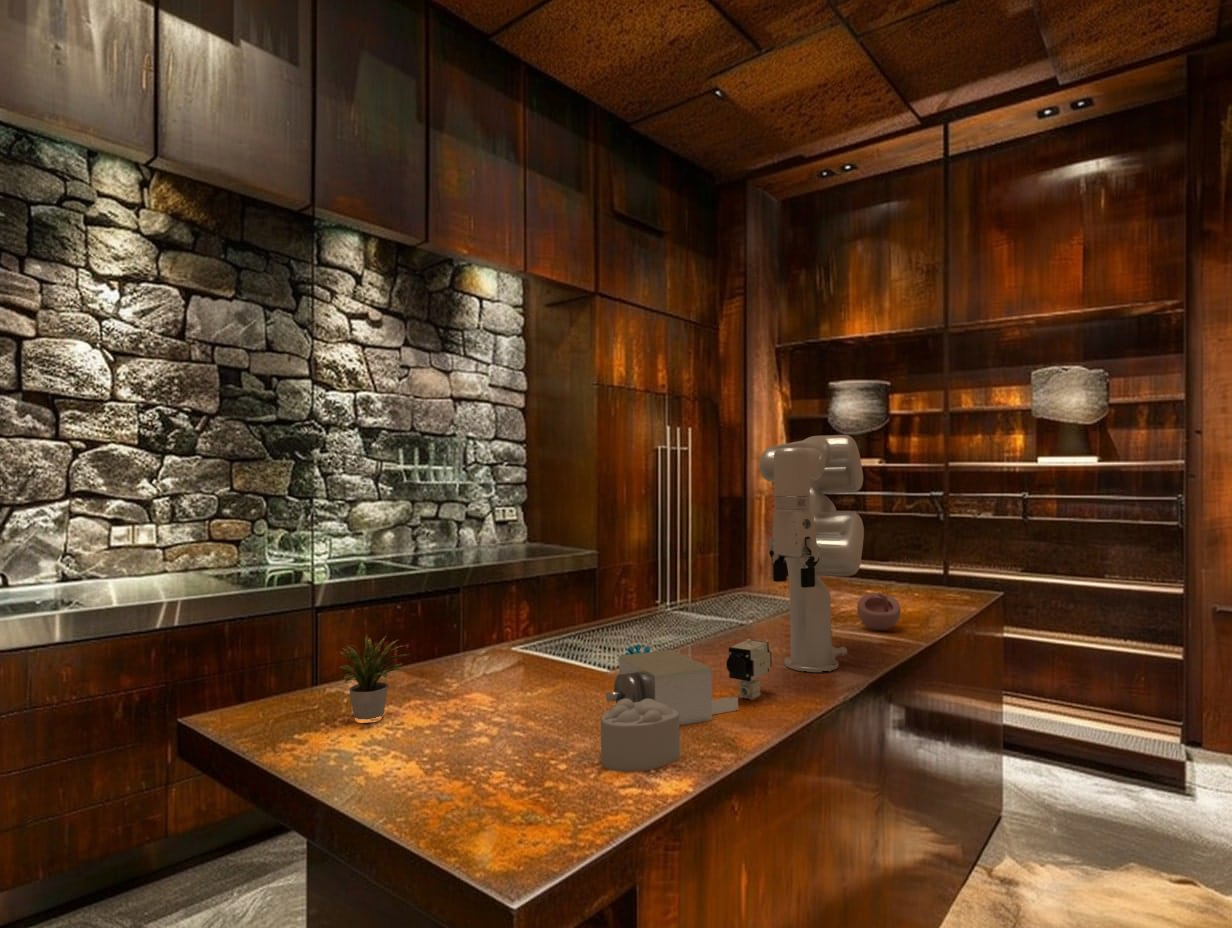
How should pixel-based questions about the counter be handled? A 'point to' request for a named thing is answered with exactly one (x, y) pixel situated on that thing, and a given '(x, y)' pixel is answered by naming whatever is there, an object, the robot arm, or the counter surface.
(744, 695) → the pneumatic valve
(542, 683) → the counter surface
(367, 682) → the house plant
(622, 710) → the lumpy-topped squat cylinder
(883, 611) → the mortar and pestle
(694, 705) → the motor
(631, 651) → the teal lobed piece
